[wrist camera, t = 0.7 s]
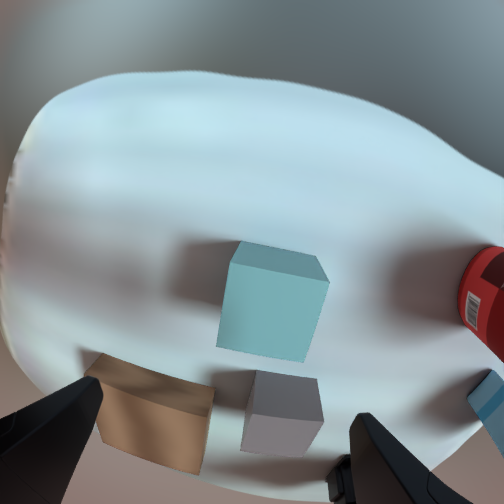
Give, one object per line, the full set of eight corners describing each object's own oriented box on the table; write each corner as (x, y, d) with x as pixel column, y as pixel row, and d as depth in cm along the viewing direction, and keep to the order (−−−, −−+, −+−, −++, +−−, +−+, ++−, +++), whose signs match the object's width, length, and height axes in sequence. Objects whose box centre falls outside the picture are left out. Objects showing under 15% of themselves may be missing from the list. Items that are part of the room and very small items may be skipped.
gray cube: (316, 378, 21) (323, 421, 16) (299, 416, 22) (302, 457, 17) (256, 369, 21) (252, 413, 16) (245, 408, 22) (240, 450, 17)
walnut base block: (216, 385, 22) (207, 417, 18) (205, 448, 25) (198, 475, 21) (104, 350, 22) (83, 374, 18) (116, 419, 25) (102, 442, 21)
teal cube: (315, 255, 18) (329, 282, 13) (297, 321, 20) (303, 362, 15) (241, 240, 18) (229, 262, 14) (229, 308, 20) (215, 346, 15)
